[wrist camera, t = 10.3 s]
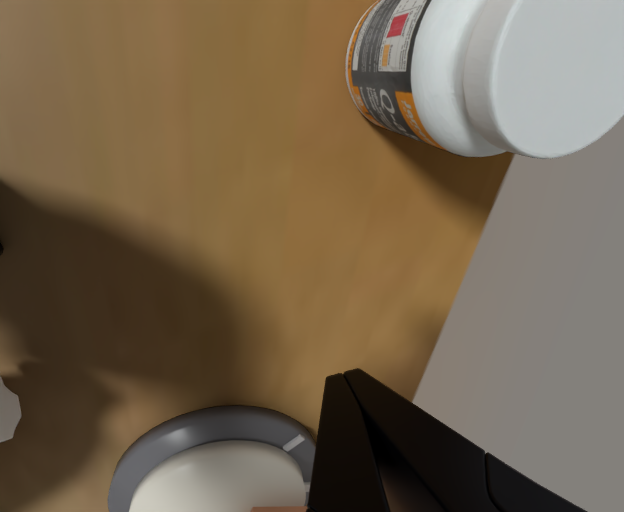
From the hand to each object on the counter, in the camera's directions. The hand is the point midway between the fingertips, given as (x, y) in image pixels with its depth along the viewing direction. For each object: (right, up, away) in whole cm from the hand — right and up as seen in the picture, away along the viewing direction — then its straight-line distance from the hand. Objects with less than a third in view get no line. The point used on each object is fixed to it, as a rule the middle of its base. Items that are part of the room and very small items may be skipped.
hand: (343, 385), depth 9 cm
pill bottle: (+3, +12, +9) cm, 15 cm away
